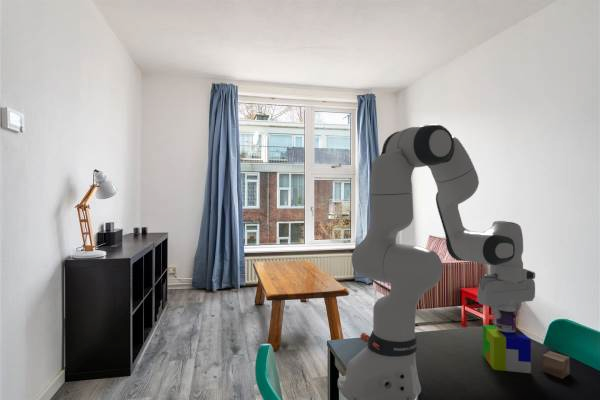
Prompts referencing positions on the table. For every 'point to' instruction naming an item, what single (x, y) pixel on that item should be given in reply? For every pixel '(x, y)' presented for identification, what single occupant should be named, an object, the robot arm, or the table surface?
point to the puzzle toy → (507, 349)
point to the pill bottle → (507, 318)
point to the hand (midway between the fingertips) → (506, 317)
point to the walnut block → (556, 364)
